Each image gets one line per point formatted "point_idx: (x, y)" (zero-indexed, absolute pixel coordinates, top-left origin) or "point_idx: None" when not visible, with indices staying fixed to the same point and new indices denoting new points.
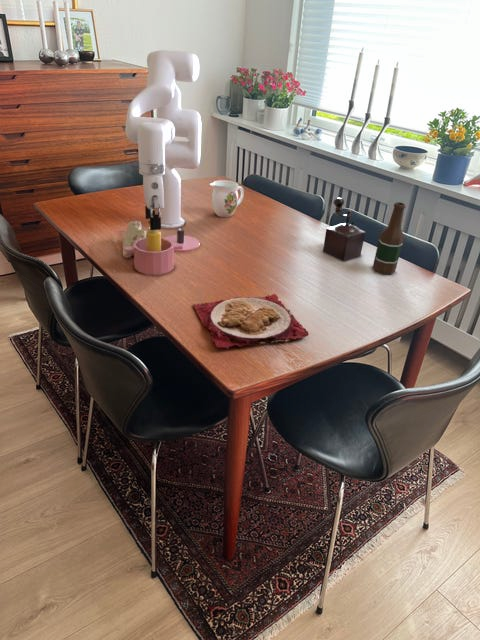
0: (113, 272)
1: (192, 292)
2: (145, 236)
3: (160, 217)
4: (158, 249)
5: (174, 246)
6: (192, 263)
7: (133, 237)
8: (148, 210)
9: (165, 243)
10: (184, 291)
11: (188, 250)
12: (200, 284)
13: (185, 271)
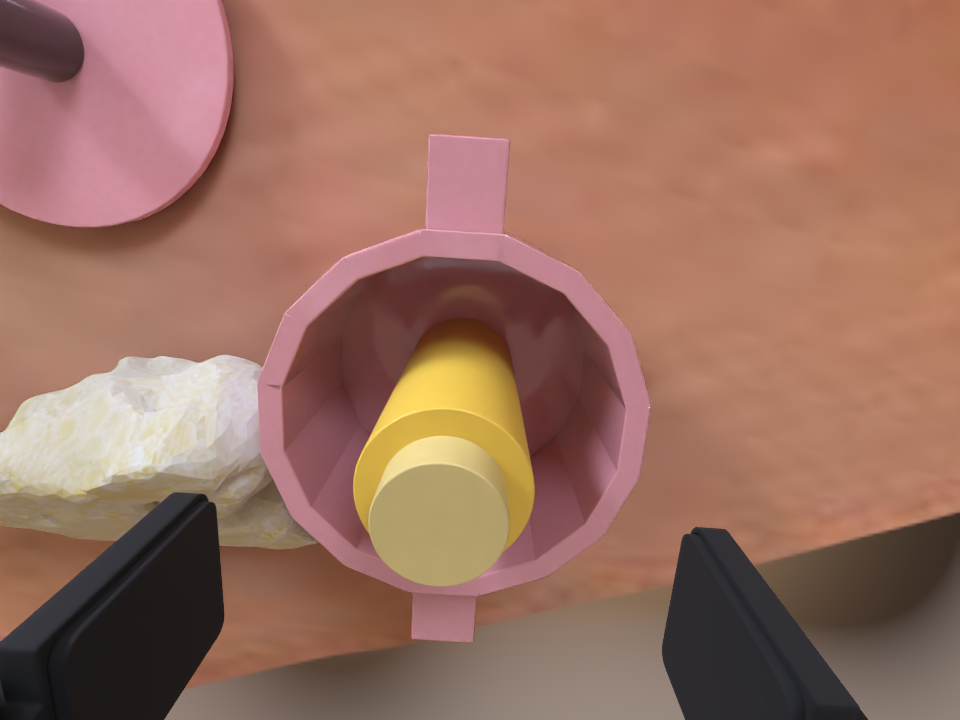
0: (483, 601)
1: (910, 198)
2: (228, 457)
3: (850, 702)
4: (513, 390)
5: (494, 226)
6: (455, 54)
7: (147, 511)
8: (138, 718)
9: (357, 285)
10: (874, 250)
11: (225, 17)
12: (823, 101)
13: (582, 156)
